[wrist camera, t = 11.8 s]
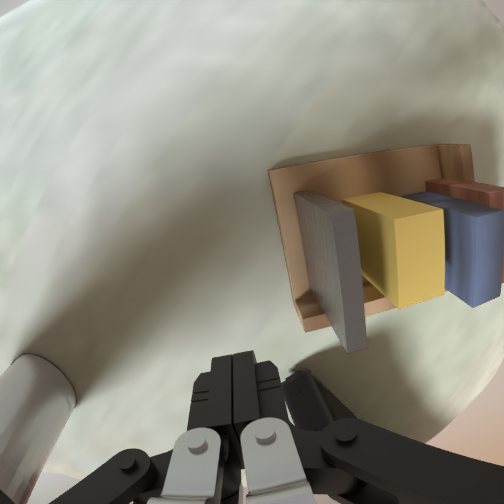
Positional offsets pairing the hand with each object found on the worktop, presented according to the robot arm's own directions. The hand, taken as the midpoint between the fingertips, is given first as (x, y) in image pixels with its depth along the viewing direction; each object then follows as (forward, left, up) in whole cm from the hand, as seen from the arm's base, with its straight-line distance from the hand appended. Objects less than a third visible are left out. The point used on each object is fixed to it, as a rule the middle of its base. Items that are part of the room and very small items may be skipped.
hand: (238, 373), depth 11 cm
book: (+11, 0, -15) cm, 19 cm away
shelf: (+12, 0, -16) cm, 21 cm away
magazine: (+9, -27, -17) cm, 33 cm away
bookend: (+6, 0, -15) cm, 16 cm away
